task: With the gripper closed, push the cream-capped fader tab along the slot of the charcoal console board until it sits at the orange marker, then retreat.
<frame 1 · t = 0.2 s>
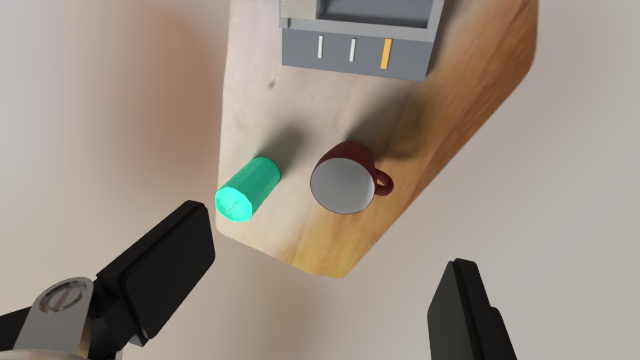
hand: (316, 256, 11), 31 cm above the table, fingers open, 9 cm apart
candle: (264, 172, 47), on the table
mug: (361, 156, 42), on the table
console: (360, 8, 32), on the table
fader tab: (307, 1, 29), point 5 cm above the table, slide at -5.0 cm
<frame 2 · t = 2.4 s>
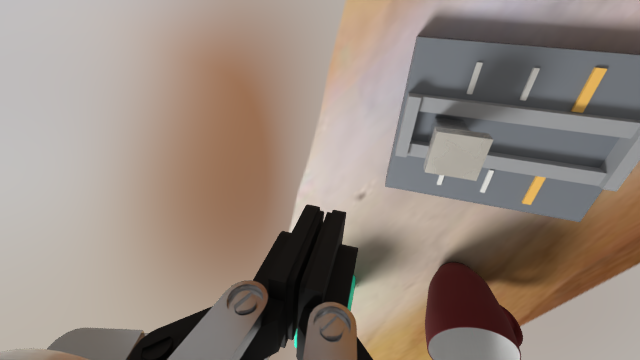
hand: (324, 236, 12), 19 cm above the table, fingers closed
mug: (464, 275, 35), on the table
console: (498, 129, 25), on the table
fader tab: (450, 141, 22), point 5 cm above the table, slide at -5.0 cm
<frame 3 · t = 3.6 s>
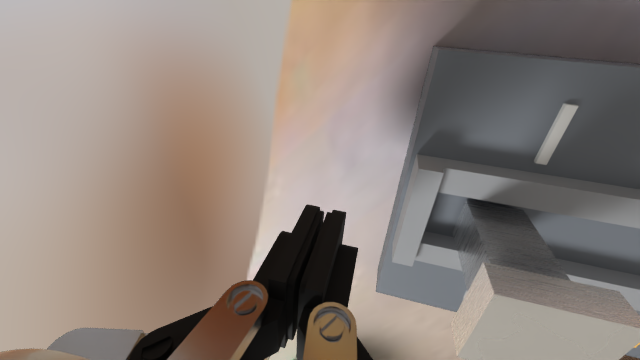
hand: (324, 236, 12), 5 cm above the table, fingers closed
console: (579, 214, 14), on the table
fader tab: (506, 268, 10), point 5 cm above the table, slide at -5.0 cm
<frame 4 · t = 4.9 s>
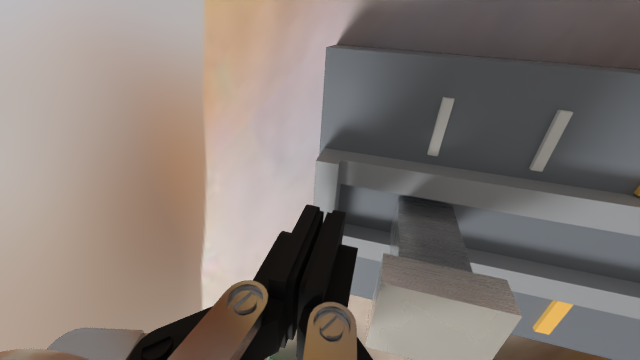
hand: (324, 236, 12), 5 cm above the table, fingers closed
console: (491, 205, 14), on the table
fader tab: (424, 261, 11), point 5 cm above the table, slide at -3.8 cm, touching gripper
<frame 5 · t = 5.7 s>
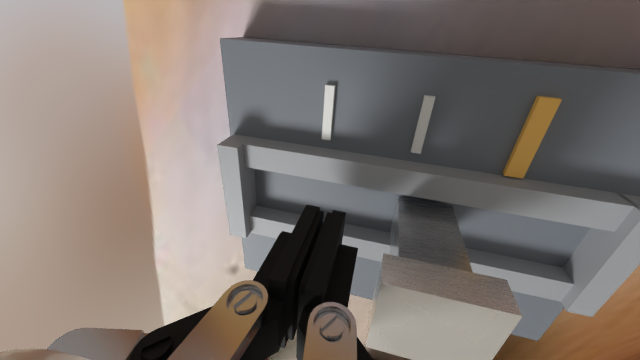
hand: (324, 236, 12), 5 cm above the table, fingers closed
console: (400, 190, 15), on the table
fader tab: (424, 261, 11), point 5 cm above the table, slide at 0.9 cm, touching gripper
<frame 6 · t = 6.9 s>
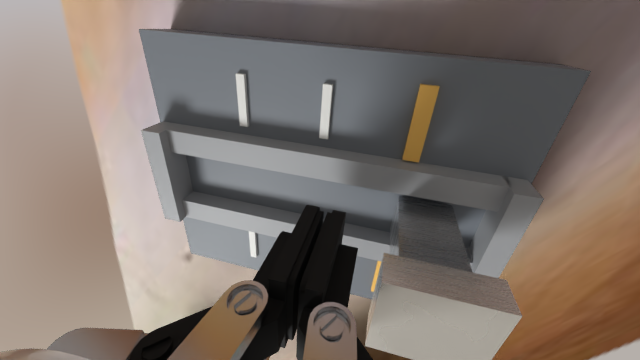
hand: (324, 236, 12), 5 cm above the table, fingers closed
console: (328, 177, 16), on the table
fader tab: (424, 261, 11), point 5 cm above the table, slide at 5.0 cm, touching gripper
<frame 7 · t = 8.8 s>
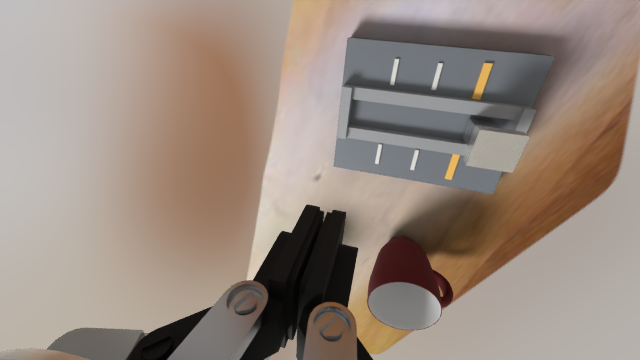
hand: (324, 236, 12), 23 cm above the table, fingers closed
mug: (410, 248, 39), on the table
console: (423, 116, 30), on the table
fader tab: (486, 139, 25), point 5 cm above the table, slide at 5.1 cm
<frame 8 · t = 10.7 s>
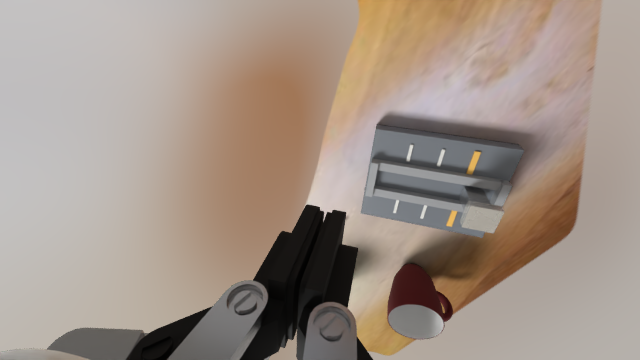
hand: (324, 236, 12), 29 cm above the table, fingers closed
mug: (419, 272, 49), on the table
console: (430, 179, 40), on the table
fader tab: (476, 205, 35), point 5 cm above the table, slide at 5.1 cm
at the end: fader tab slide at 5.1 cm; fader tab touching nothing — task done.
